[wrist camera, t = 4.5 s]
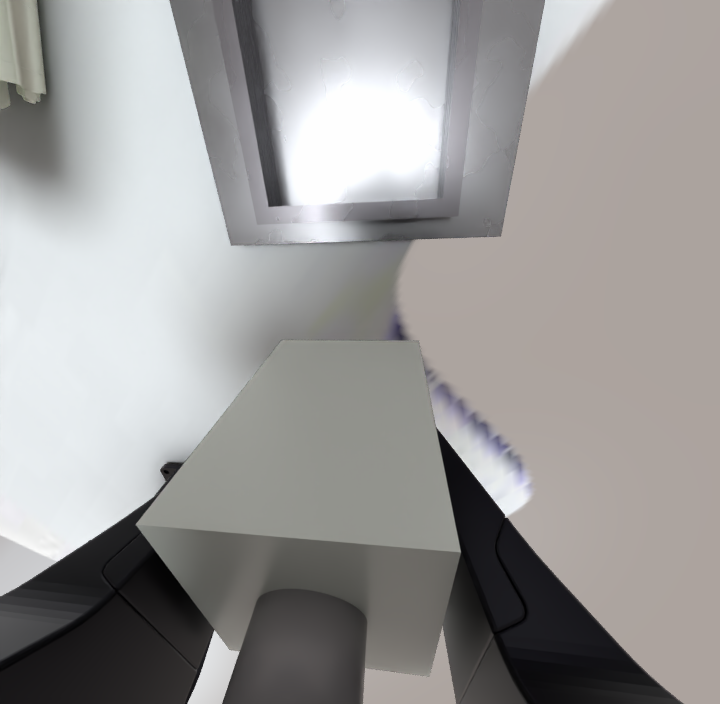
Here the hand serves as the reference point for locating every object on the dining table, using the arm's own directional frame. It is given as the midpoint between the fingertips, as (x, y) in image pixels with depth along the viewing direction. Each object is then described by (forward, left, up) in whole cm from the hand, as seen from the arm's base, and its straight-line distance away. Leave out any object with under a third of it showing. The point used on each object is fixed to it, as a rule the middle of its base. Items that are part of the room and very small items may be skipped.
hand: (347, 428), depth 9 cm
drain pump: (0, 0, -1) cm, 1 cm away
